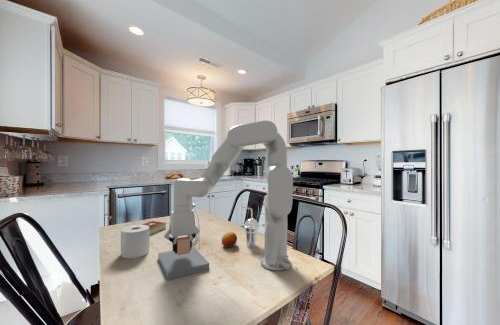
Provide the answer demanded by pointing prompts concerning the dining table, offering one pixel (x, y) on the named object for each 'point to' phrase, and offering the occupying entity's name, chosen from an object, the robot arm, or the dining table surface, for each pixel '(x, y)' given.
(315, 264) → the dining table surface
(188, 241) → the terracotta block
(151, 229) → the hardcover book
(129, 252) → the toilet paper roll
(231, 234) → the fruit
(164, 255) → the slate board
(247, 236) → the cup with straw
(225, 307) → the dining table surface
